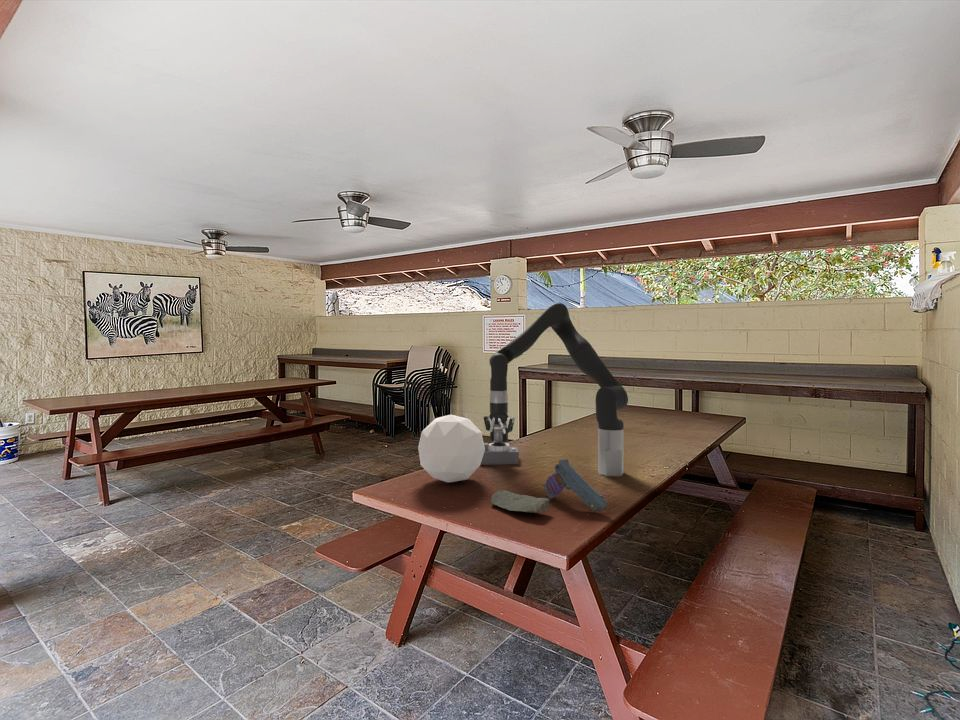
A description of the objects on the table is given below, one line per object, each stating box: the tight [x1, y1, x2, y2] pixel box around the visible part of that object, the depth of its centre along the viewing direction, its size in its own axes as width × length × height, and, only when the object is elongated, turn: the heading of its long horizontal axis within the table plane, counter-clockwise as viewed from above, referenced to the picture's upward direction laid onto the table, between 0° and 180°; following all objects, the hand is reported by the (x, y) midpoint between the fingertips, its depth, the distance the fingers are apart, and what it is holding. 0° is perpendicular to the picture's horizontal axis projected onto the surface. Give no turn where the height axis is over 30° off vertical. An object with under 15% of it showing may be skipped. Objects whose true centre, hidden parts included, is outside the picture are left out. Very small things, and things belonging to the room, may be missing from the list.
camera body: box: [480, 442, 520, 466], centre depth 209 cm, size 10×16×8 cm, turn 89°
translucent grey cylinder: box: [493, 423, 506, 446], centre depth 208 cm, size 5×5×10 cm
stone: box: [490, 489, 550, 514], centre depth 154 cm, size 21×4×10 cm
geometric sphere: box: [417, 414, 485, 483], centre depth 181 cm, size 24×25×25 cm
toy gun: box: [542, 458, 608, 512], centre depth 156 cm, size 4×21×15 cm
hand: (499, 441), depth 208 cm, fingers closed on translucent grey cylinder, 5 cm apart
